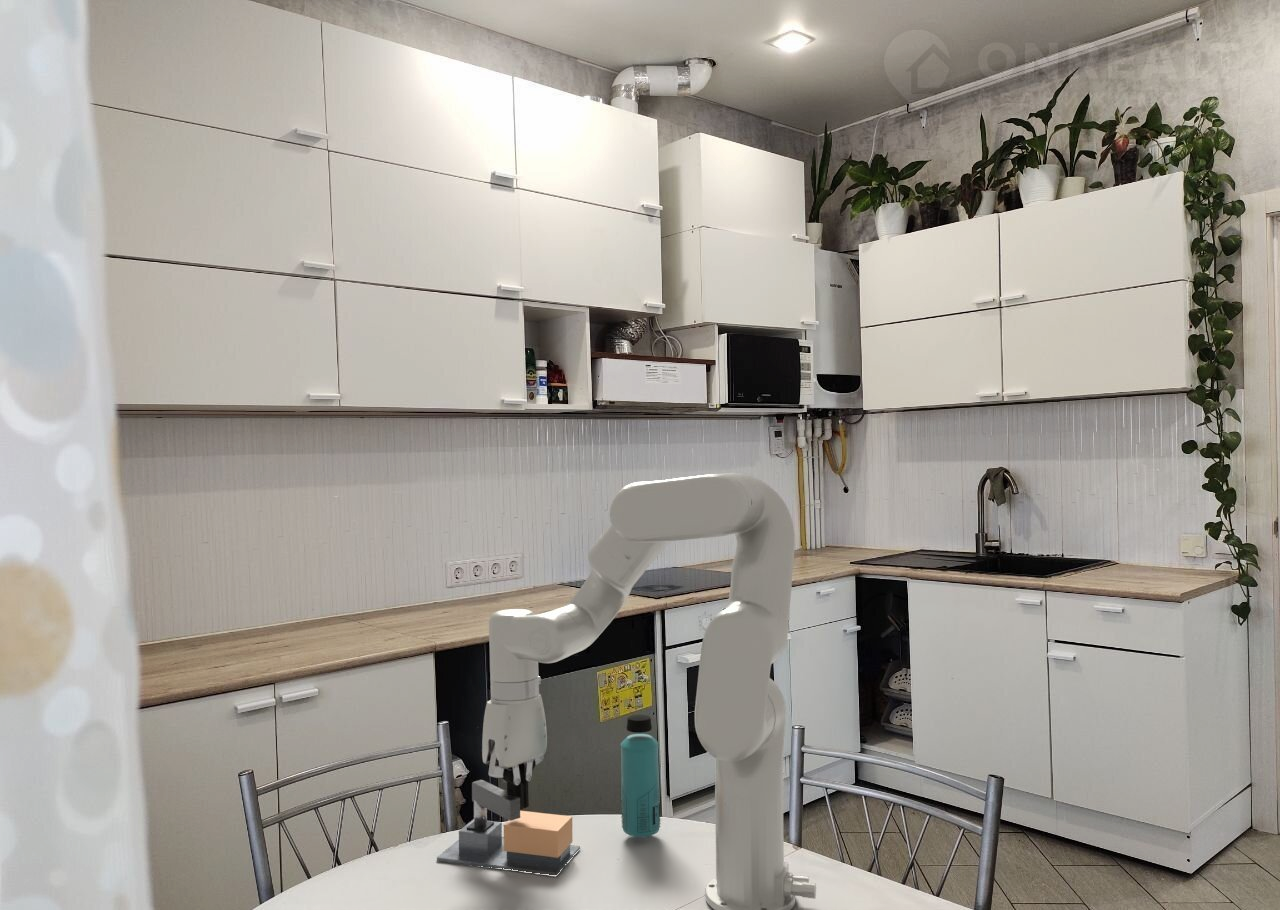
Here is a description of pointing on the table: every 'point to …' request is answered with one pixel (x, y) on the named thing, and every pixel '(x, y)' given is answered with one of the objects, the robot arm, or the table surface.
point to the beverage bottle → (640, 779)
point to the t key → (493, 802)
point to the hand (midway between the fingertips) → (518, 806)
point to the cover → (538, 834)
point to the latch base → (499, 852)
